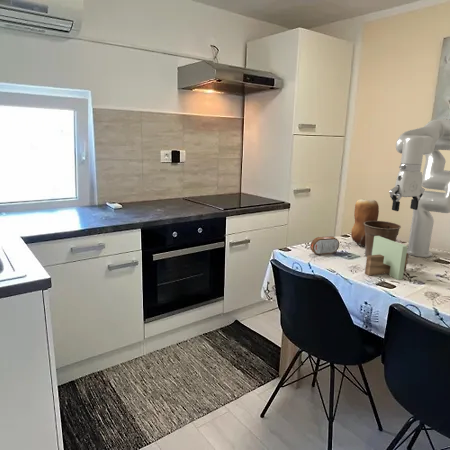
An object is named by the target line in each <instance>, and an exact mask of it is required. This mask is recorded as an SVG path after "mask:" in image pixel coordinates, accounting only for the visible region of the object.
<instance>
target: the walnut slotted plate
mask: <svg viewBox="0 0 450 450" xmlns="http://www.w3.org/2000/svg"><path fill="white" fill-rule="evenodd" d="M408 258H409V254H408V253H407V254H406V260H405V267H404V272H406V271H407V266H408V265H407V264H408ZM383 261H384V256H383V255H380V254H379V255H369V256H366V261H365V268H364V274H365V275H366V276H368V277H372V276H378V275H386V274H388V275H389V273H390V266H389V265H386V264H384V263H383Z"/></svg>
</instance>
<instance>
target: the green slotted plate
mask: <svg viewBox="0 0 450 450" xmlns="http://www.w3.org/2000/svg"><path fill="white" fill-rule="evenodd" d="M407 248H408V245H406V244H403V243H400V242H397V241H396V242H395V241H392V240H389V239H386V238H383V237H381V236H374V242H373V249H372V255H379V254H380V255H383V256H384V261H383V263H384V264H386V265H389V266H390V273H388V275H389V276H390V277H392V278H394V279H396V280H403V279H404V273H405V271H404V267H405V260H406V254H407Z"/></svg>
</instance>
